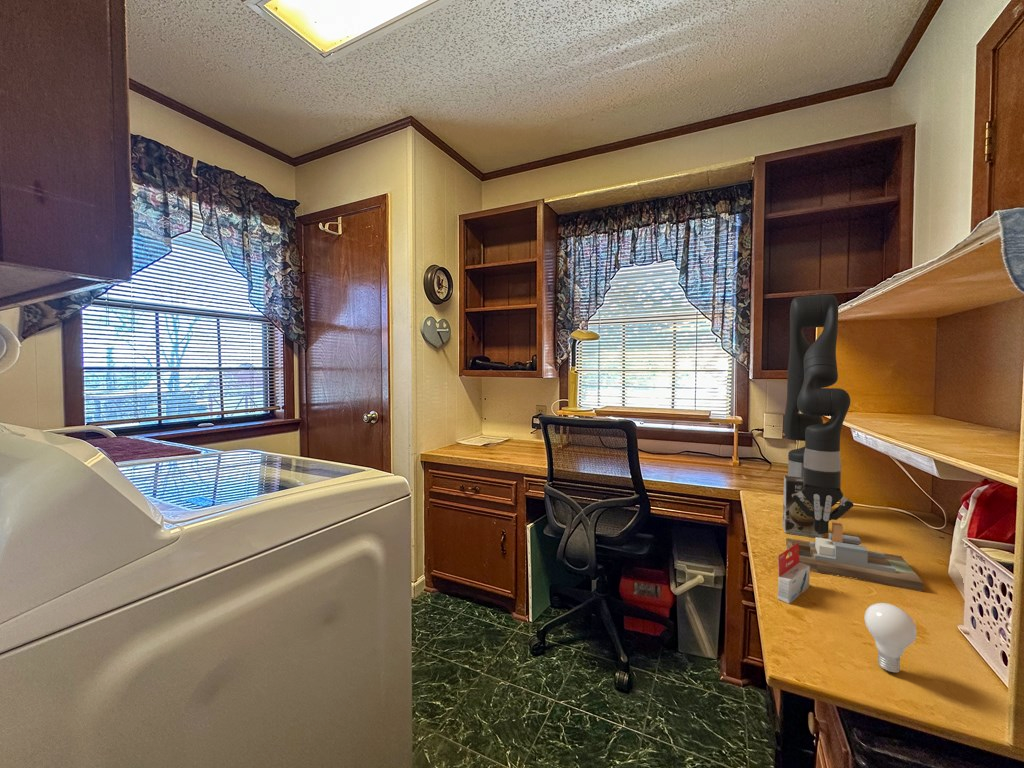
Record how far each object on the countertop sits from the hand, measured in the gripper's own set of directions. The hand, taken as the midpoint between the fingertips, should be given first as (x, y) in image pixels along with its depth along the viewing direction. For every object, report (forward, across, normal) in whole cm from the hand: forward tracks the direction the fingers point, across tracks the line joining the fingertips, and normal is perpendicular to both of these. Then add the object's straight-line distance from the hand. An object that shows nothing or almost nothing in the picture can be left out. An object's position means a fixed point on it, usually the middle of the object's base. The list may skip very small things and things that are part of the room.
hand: (820, 533), depth 104 cm
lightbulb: (+7, -4, +40) cm, 41 cm away
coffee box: (+7, +2, -19) cm, 20 cm away
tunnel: (+5, -6, 0) cm, 8 cm away
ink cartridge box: (+8, +8, +20) cm, 23 cm away
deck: (+7, -5, 0) cm, 9 cm away
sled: (+5, -3, 0) cm, 6 cm away
